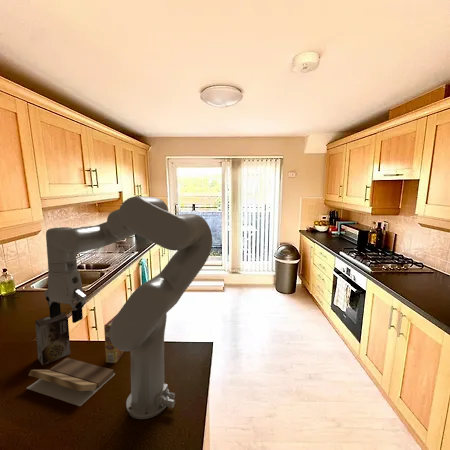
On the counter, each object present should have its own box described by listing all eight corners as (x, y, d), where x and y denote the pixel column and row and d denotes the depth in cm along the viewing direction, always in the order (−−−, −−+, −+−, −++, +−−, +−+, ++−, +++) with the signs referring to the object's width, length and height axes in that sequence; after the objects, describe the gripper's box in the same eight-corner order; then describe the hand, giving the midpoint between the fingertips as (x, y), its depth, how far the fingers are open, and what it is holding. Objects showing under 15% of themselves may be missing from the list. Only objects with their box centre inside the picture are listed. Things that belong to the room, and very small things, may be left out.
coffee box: (65, 349, 97) (63, 311, 96) (70, 356, 93) (68, 316, 92) (37, 361, 90) (34, 319, 89) (42, 368, 86) (39, 325, 85)
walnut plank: (113, 374, 83) (113, 369, 82) (98, 387, 76) (98, 383, 76) (67, 361, 89) (67, 357, 89) (49, 373, 83) (49, 369, 82)
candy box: (116, 365, 88) (115, 325, 87) (105, 364, 89) (103, 325, 87) (127, 350, 97) (126, 314, 96) (117, 350, 98) (116, 314, 96)
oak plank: (95, 389, 75) (97, 384, 76) (79, 391, 70) (82, 385, 70) (45, 374, 81) (48, 369, 82) (28, 375, 76) (30, 369, 77)
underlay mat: (115, 376, 83) (115, 373, 83) (80, 409, 70) (80, 406, 69) (67, 363, 89) (67, 360, 89) (26, 391, 76) (26, 388, 76)
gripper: (93, 265, 77) (96, 317, 78) (55, 261, 82) (58, 310, 84) (72, 272, 70) (75, 328, 71) (31, 267, 75) (35, 319, 77)
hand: (66, 318), depth 77 cm, fingers open, 9 cm apart
